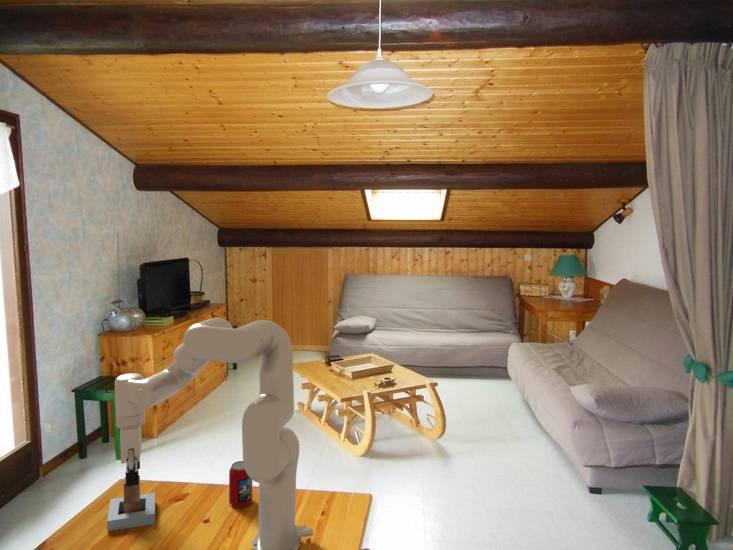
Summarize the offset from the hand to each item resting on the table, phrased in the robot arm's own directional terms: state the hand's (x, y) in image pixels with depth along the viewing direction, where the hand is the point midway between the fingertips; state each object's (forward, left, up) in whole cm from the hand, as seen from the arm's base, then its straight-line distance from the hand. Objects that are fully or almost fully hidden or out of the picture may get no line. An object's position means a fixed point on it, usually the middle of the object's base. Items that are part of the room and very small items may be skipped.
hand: (133, 477), depth 154 cm
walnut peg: (0, 0, -12) cm, 12 cm away
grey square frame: (0, 0, -12) cm, 12 cm away
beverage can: (-30, +2, -12) cm, 32 cm away
